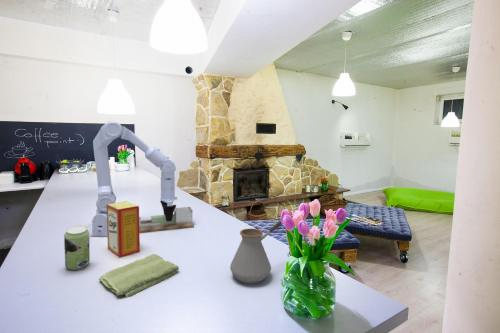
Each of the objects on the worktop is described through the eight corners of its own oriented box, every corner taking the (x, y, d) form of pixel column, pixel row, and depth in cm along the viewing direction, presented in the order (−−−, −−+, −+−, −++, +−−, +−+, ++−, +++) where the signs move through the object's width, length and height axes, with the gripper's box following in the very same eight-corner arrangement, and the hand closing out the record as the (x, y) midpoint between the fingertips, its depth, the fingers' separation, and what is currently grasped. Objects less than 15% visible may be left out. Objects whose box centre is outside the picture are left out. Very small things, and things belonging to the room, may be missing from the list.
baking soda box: (107, 249, 91) (106, 203, 89) (127, 244, 96) (126, 200, 94) (119, 257, 84) (118, 208, 83) (139, 251, 89) (138, 205, 88)
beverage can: (85, 259, 82) (83, 222, 81) (94, 267, 78) (93, 227, 77) (61, 267, 78) (59, 227, 76) (70, 275, 73) (68, 233, 72)
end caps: (138, 228, 109) (138, 214, 108) (138, 224, 114) (138, 210, 114) (192, 223, 118) (192, 210, 117) (189, 219, 123) (189, 206, 123)
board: (138, 233, 106) (138, 230, 106) (138, 224, 117) (138, 222, 117) (193, 227, 115) (193, 225, 115) (188, 219, 126) (188, 217, 126)
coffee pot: (247, 292, 67) (249, 235, 65) (221, 274, 76) (222, 223, 74) (302, 268, 81) (304, 219, 79) (274, 255, 89) (276, 211, 88)
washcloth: (96, 283, 70) (95, 271, 70) (156, 260, 84) (156, 251, 84) (120, 303, 62) (119, 290, 62) (182, 274, 76) (182, 263, 76)
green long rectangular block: (151, 226, 112) (151, 217, 112) (151, 223, 115) (151, 216, 115) (183, 222, 118) (183, 215, 117) (182, 220, 120) (182, 213, 120)
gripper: (179, 190, 110) (179, 222, 111) (175, 184, 123) (175, 213, 124) (161, 191, 107) (162, 224, 108) (158, 185, 120) (159, 214, 122)
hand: (168, 218), depth 116 cm, fingers open, 6 cm apart
